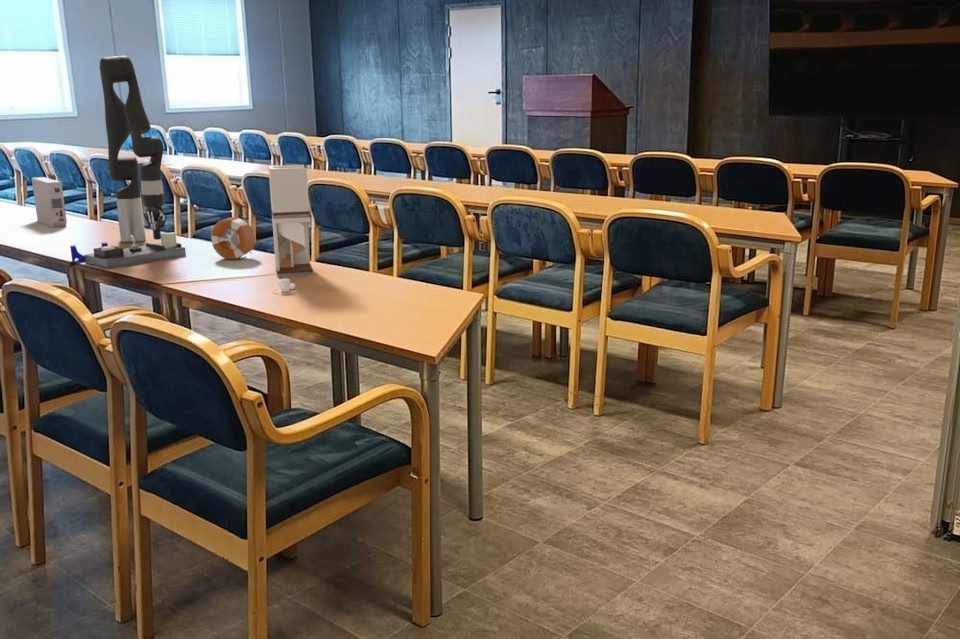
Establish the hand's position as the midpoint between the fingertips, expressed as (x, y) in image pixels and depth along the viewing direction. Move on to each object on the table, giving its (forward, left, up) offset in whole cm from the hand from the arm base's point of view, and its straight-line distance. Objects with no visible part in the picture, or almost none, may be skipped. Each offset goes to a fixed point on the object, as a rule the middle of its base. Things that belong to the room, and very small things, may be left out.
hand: (157, 239), depth 330 cm
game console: (-102, +7, -6) cm, 103 cm away
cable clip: (-8, -22, -6) cm, 24 cm away
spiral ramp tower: (+68, +10, -6) cm, 69 cm away
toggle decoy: (+4, -11, -1) cm, 12 cm away
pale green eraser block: (+8, 0, -2) cm, 8 cm away
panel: (+4, -11, -5) cm, 13 cm away
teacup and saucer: (+89, -6, -6) cm, 89 cm away
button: (+4, -21, -2) cm, 22 cm away
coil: (+31, +12, -6) cm, 34 cm away
